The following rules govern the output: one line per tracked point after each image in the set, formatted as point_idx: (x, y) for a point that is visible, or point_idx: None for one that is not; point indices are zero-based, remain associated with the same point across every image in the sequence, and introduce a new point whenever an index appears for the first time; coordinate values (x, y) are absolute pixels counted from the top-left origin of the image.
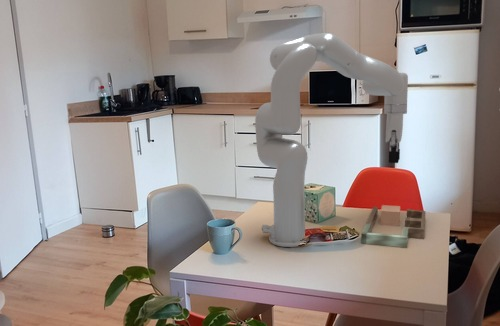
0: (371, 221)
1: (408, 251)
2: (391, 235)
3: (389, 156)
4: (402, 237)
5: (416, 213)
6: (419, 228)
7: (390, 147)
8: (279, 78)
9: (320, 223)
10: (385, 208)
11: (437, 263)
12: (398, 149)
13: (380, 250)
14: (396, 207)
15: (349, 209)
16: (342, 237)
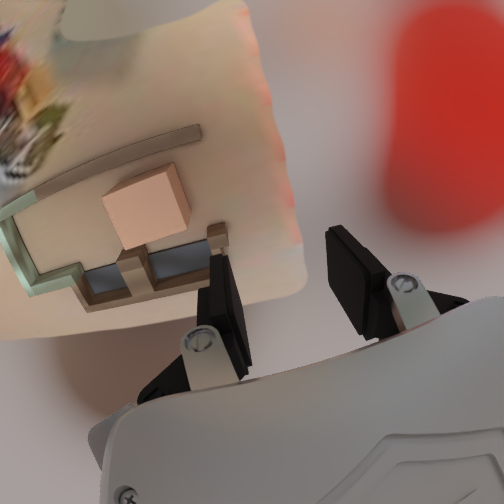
0: (53, 192)
1: None
2: (17, 270)
3: (211, 287)
4: (25, 290)
5: None
6: (85, 304)
7: (188, 372)
8: None
9: (58, 45)
10: (133, 198)
11: (32, 331)
12: (368, 330)
13: None
14: (165, 224)
15: (231, 34)
16: (5, 154)
